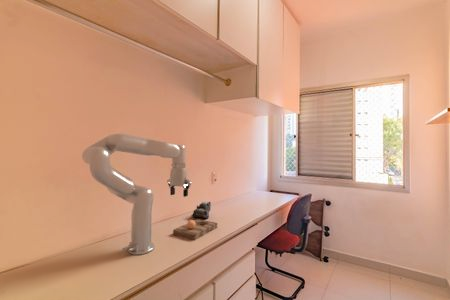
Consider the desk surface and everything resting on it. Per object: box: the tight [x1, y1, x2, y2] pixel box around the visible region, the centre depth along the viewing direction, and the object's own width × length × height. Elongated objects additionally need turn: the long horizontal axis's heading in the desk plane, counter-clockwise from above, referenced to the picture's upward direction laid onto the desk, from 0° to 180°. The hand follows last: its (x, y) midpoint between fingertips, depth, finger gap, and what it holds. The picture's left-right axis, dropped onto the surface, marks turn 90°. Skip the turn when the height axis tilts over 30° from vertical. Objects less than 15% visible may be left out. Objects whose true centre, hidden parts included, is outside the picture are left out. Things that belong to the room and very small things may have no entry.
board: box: [172, 218, 218, 241], centre depth 140 cm, size 24×16×3 cm, turn 150°
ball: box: [186, 219, 196, 229], centre depth 135 cm, size 5×5×5 cm
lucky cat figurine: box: [191, 201, 212, 220], centre depth 169 cm, size 15×12×14 cm
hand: (179, 195), depth 130 cm, fingers open, 9 cm apart
